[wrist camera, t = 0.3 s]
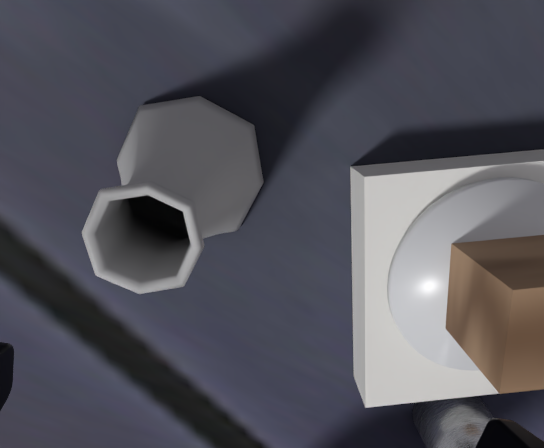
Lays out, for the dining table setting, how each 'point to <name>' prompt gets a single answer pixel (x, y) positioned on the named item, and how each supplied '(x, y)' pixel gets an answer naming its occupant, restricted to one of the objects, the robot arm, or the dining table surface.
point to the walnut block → (500, 309)
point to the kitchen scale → (427, 264)
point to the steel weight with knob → (451, 422)
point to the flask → (172, 193)
